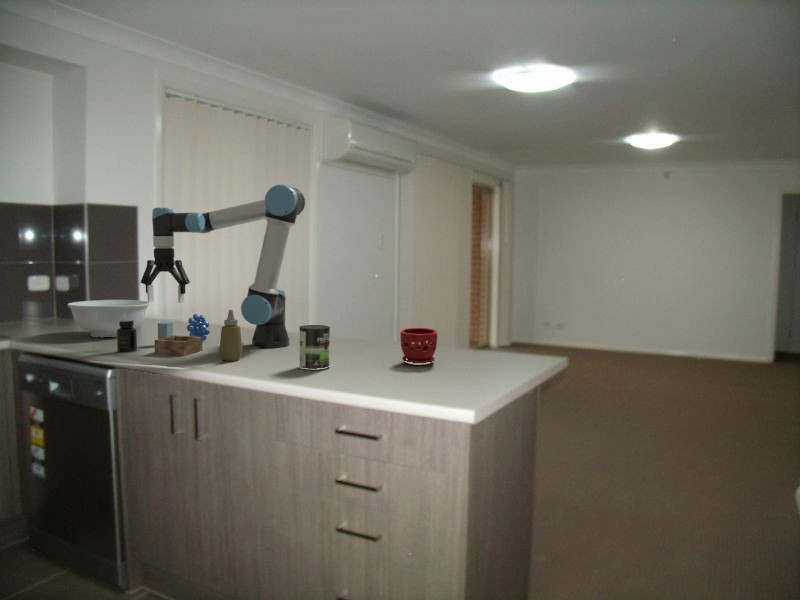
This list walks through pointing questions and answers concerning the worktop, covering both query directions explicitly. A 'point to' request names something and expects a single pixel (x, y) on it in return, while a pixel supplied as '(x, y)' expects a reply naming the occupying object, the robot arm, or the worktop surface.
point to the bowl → (107, 315)
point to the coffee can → (314, 346)
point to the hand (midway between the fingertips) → (165, 302)
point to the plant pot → (416, 350)
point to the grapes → (198, 326)
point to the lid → (165, 330)
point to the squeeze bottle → (231, 339)
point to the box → (178, 345)
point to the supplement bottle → (126, 337)
